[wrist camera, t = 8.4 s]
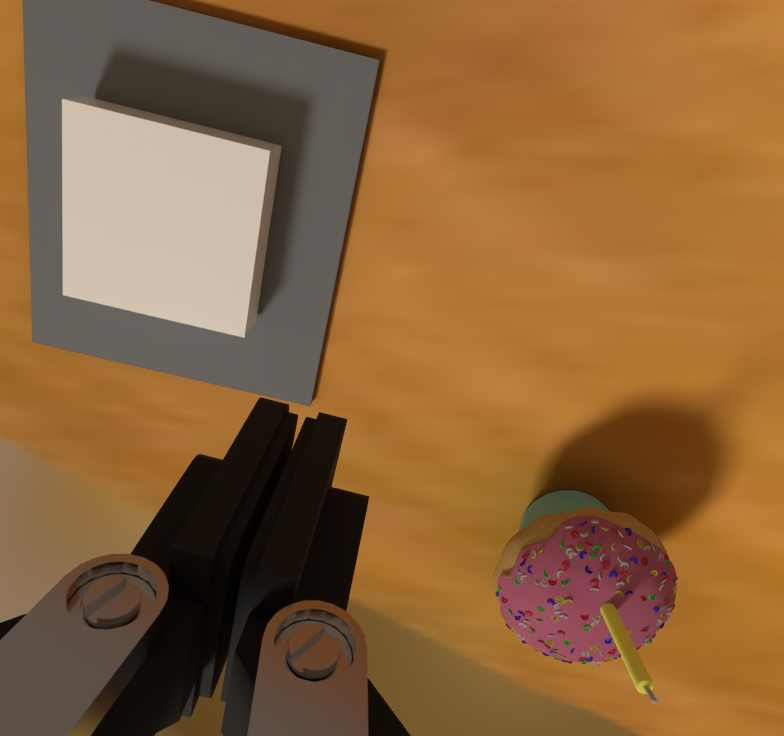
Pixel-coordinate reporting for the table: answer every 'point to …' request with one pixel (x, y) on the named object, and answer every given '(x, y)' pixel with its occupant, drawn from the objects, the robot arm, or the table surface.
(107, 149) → the tile
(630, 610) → the cupcake
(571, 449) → the table surface
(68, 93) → the mat
